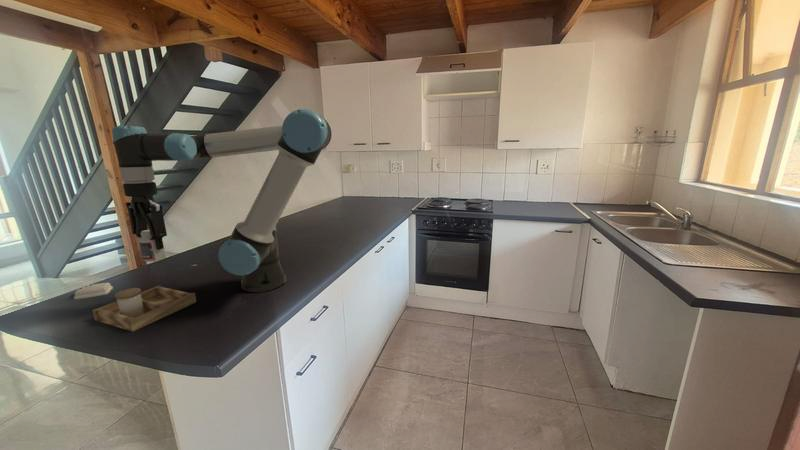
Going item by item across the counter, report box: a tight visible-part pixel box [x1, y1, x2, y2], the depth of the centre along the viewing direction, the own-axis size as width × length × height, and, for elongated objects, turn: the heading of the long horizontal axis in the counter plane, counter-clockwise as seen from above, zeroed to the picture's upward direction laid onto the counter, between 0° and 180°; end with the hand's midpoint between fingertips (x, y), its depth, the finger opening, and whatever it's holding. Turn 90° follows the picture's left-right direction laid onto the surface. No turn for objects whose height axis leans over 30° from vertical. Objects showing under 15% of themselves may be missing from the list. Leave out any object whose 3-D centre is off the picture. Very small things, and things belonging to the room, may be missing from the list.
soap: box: [73, 282, 114, 300], centre depth 108 cm, size 9×7×3 cm
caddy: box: [91, 285, 197, 332], centre depth 95 cm, size 17×18×4 cm
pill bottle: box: [139, 229, 156, 262], centre depth 95 cm, size 5×5×9 cm
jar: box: [114, 287, 145, 318], centre depth 90 cm, size 6×6×8 cm
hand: (154, 257), depth 96 cm, fingers closed on pill bottle, 5 cm apart
